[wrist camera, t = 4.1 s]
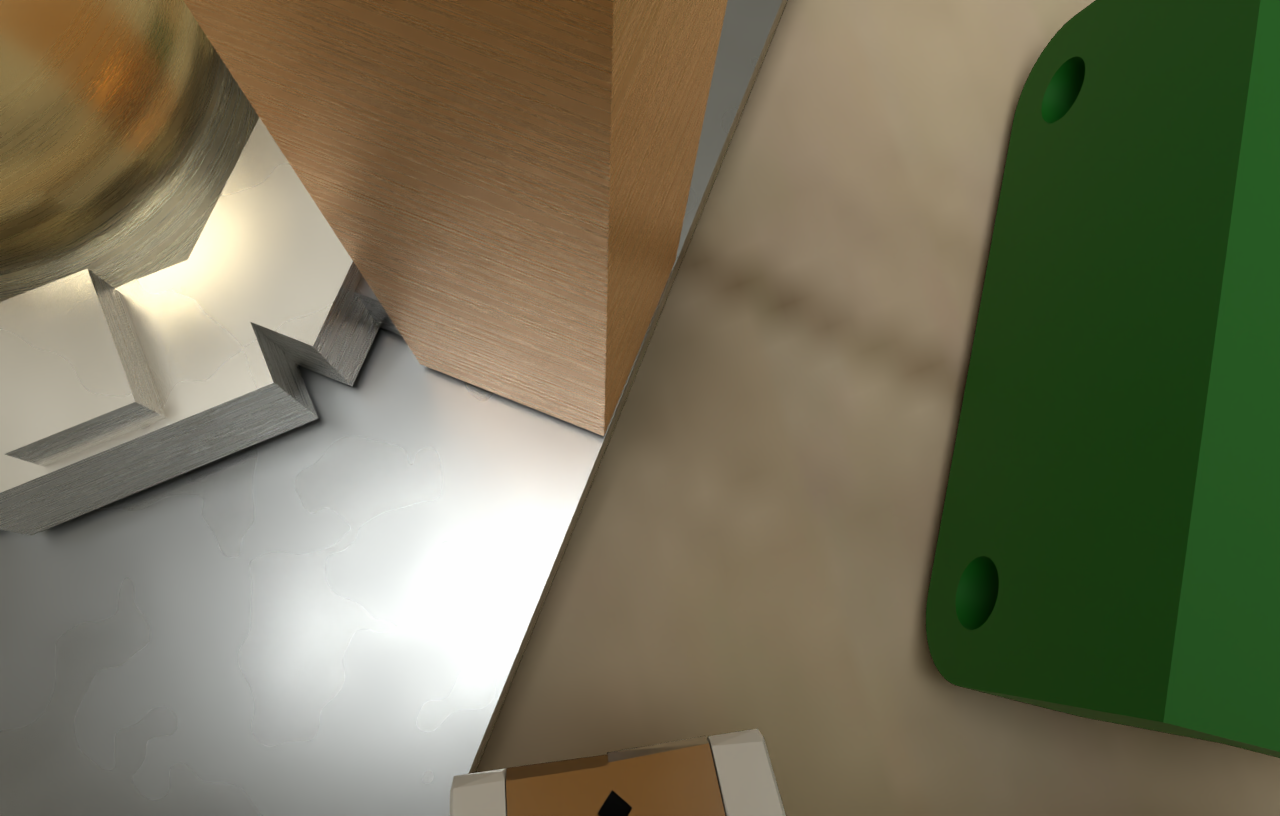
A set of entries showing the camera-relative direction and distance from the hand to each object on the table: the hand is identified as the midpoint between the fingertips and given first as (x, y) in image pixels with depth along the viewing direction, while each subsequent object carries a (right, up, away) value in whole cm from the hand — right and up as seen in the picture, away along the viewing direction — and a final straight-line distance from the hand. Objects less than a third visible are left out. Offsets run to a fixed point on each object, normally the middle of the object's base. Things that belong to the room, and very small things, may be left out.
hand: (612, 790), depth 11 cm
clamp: (+9, +4, +9) cm, 13 cm away
